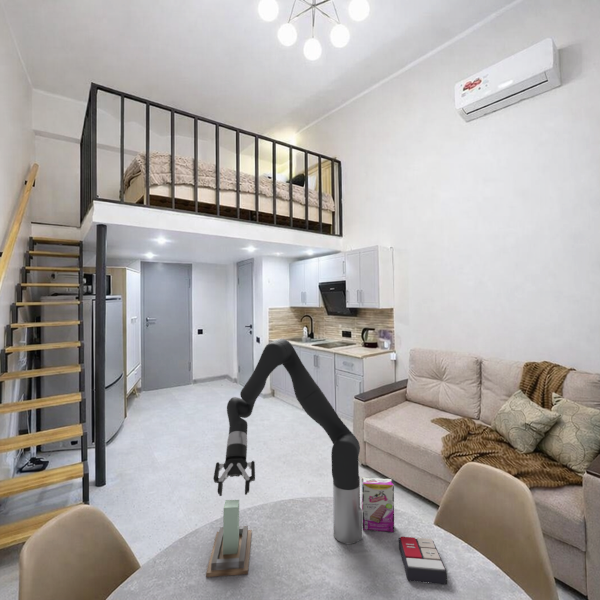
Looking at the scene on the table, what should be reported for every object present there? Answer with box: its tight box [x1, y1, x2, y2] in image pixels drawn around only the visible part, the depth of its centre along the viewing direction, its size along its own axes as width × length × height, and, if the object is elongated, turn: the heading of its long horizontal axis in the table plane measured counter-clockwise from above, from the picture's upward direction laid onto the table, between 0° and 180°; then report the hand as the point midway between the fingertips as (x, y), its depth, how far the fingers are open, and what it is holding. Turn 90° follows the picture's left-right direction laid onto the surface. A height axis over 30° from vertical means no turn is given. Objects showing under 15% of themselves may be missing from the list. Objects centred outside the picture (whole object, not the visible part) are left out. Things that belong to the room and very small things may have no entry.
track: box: [205, 525, 253, 578], centre depth 105 cm, size 12×19×3 cm, turn 5°
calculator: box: [398, 536, 448, 586], centre depth 100 cm, size 11×4×15 cm
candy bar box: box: [361, 477, 395, 533], centre depth 118 cm, size 11×5×16 cm, turn 84°
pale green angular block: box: [222, 499, 240, 554], centre depth 105 cm, size 4×4×14 cm
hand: (233, 494), depth 111 cm, fingers open, 8 cm apart
